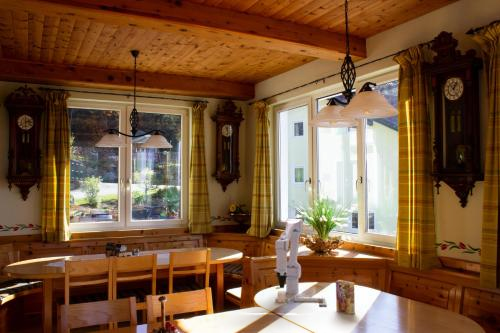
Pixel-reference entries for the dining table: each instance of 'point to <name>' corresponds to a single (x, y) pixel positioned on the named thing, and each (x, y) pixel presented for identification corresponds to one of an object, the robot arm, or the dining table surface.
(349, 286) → the candy box
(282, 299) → the u clip
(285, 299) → the brown square backing plate
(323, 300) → the rack
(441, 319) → the dining table surface
